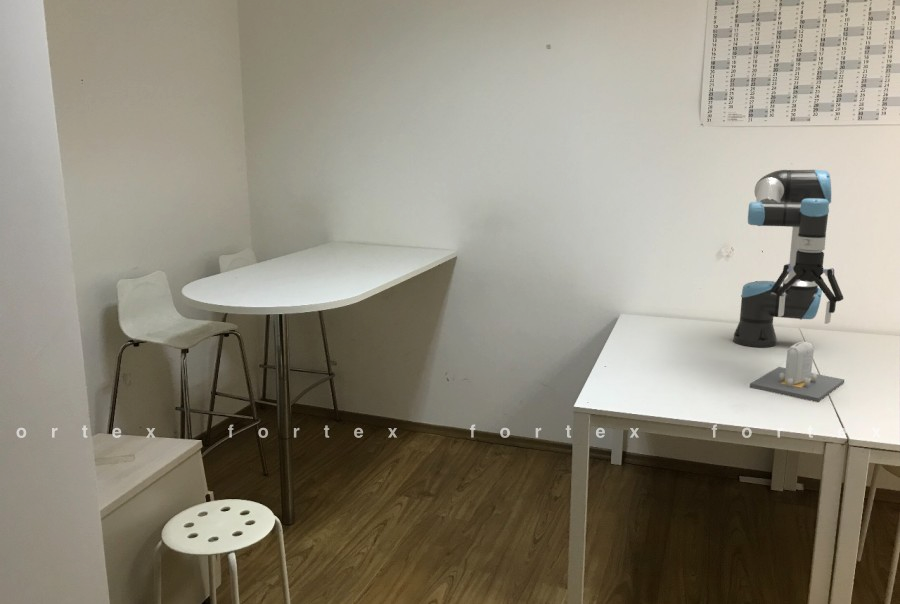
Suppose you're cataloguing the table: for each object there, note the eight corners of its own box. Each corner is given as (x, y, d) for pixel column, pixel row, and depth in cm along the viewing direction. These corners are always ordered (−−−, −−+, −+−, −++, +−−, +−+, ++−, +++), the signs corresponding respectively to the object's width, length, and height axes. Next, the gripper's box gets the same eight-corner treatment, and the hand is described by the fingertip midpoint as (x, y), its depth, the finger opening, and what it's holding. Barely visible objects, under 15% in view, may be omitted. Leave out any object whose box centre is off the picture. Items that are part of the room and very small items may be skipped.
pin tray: (749, 387, 226) (750, 375, 226) (778, 370, 243) (779, 359, 243) (818, 402, 213) (819, 390, 212) (844, 383, 230) (845, 371, 229)
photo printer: (799, 376, 233) (803, 338, 230) (812, 379, 229) (816, 341, 227) (782, 382, 227) (785, 343, 224) (795, 385, 223) (799, 346, 221)
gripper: (763, 248, 225) (757, 315, 230) (852, 256, 208) (844, 328, 213) (772, 245, 230) (767, 311, 235) (859, 253, 214) (851, 323, 218)
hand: (803, 319), depth 224 cm, fingers open, 13 cm apart
